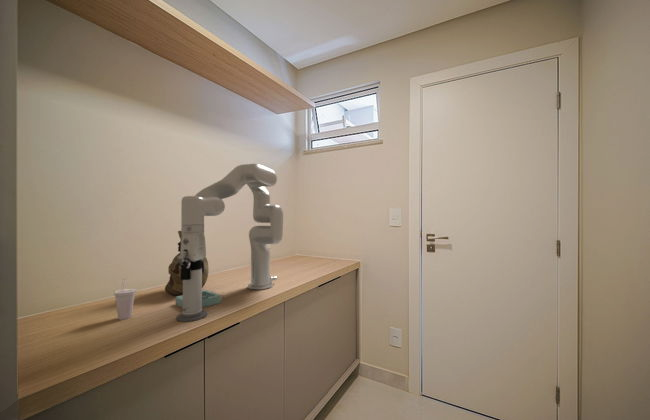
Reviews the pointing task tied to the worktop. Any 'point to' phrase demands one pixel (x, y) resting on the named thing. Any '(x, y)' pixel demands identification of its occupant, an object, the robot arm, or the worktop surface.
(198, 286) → the travel mug
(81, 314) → the worktop surface
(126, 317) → the smoothie
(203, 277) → the ceramic vessel
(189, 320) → the pad
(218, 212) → the robot arm
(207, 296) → the dock collar
